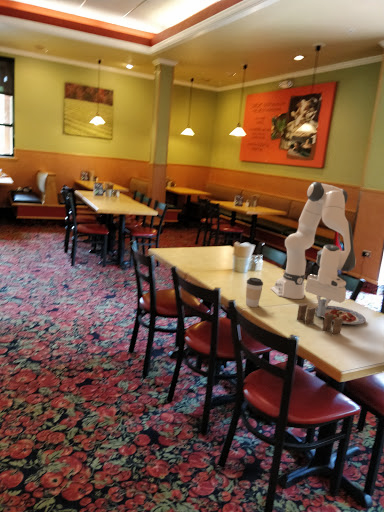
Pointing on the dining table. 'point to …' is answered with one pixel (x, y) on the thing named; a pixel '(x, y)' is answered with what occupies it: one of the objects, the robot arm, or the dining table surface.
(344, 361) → the dining table surface
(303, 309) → the tile
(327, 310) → the ceramic plate
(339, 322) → the tile
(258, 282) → the coffee cup
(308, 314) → the tile
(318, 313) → the tile
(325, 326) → the tile
